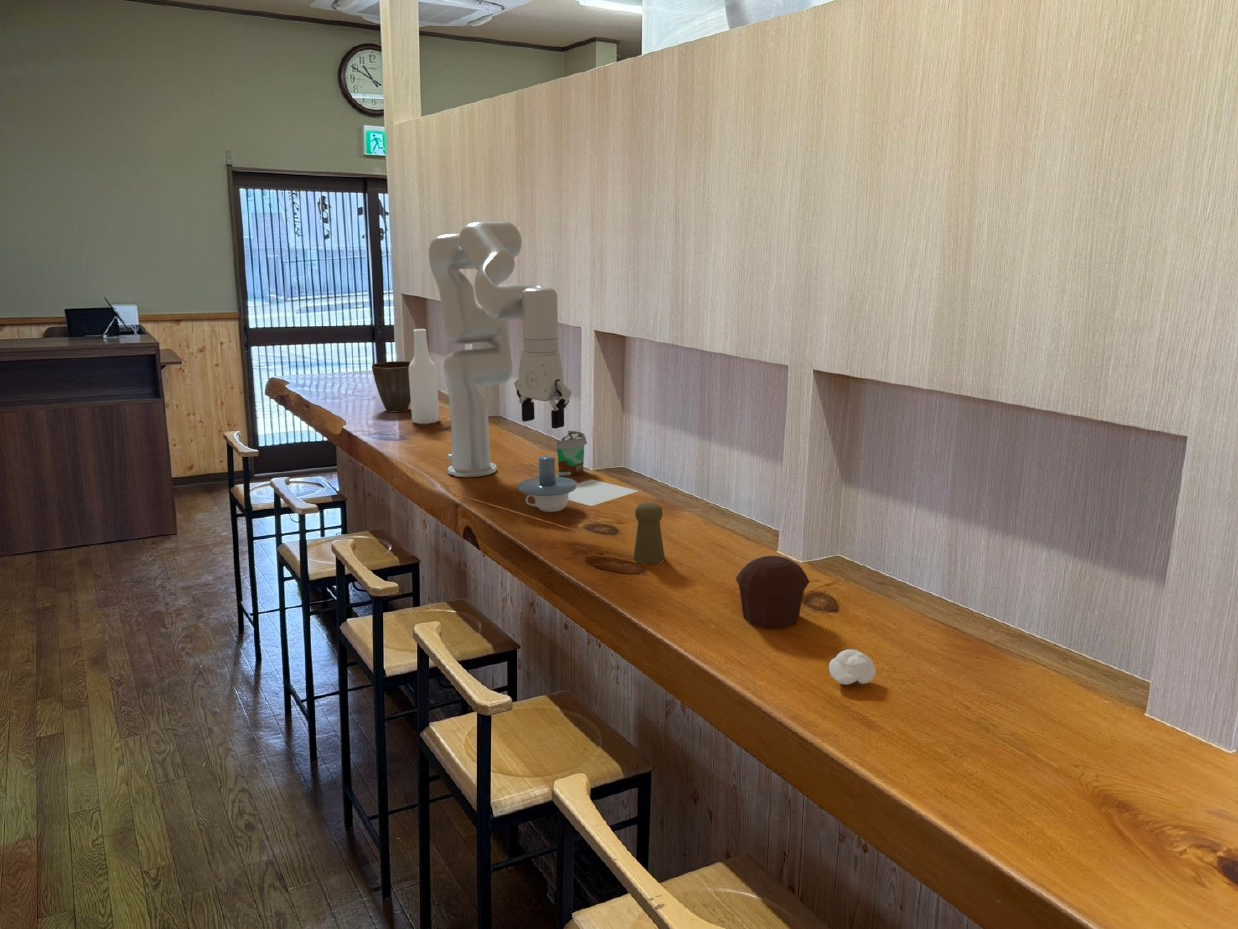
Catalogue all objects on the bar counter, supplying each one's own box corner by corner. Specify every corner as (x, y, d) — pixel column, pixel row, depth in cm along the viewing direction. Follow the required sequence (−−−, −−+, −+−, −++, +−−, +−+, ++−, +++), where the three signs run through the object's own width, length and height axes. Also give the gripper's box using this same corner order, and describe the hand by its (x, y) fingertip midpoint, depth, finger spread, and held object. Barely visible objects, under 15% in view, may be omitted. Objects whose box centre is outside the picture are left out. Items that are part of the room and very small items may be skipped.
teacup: (561, 503, 217) (560, 480, 216) (574, 512, 210) (574, 488, 209) (520, 509, 213) (519, 486, 211) (532, 518, 206) (531, 495, 205)
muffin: (751, 636, 146) (753, 576, 144) (724, 609, 157) (725, 552, 154) (820, 626, 150) (823, 567, 147) (789, 600, 160) (791, 544, 157)
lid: (506, 488, 210) (505, 458, 208) (550, 476, 219) (549, 448, 217) (545, 499, 201) (543, 468, 200) (588, 486, 210) (588, 457, 208)
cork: (668, 563, 178) (667, 507, 175) (636, 566, 177) (635, 510, 174) (661, 552, 184) (661, 498, 181) (630, 555, 183) (630, 500, 180)
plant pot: (428, 407, 330) (425, 362, 326) (402, 415, 317) (398, 368, 313) (393, 405, 336) (389, 360, 332) (366, 412, 323) (362, 366, 319)
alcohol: (411, 420, 310) (404, 328, 302) (438, 418, 312) (432, 327, 305) (413, 425, 302) (406, 331, 294) (441, 423, 304) (435, 330, 297)
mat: (543, 494, 224) (543, 493, 224) (591, 480, 235) (591, 479, 235) (591, 507, 213) (591, 506, 213) (639, 492, 224) (639, 491, 224)
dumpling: (856, 669, 135) (858, 644, 134) (883, 684, 131) (884, 658, 130) (819, 681, 132) (820, 655, 131) (844, 697, 128) (845, 670, 127)
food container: (581, 480, 235) (580, 441, 233) (557, 479, 236) (556, 440, 234) (592, 468, 247) (591, 430, 244) (569, 467, 248) (568, 430, 245)
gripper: (501, 344, 205) (504, 420, 210) (555, 352, 194) (557, 433, 198) (527, 340, 210) (529, 415, 215) (581, 348, 199) (582, 427, 204)
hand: (542, 423), depth 207 cm, fingers open, 9 cm apart
